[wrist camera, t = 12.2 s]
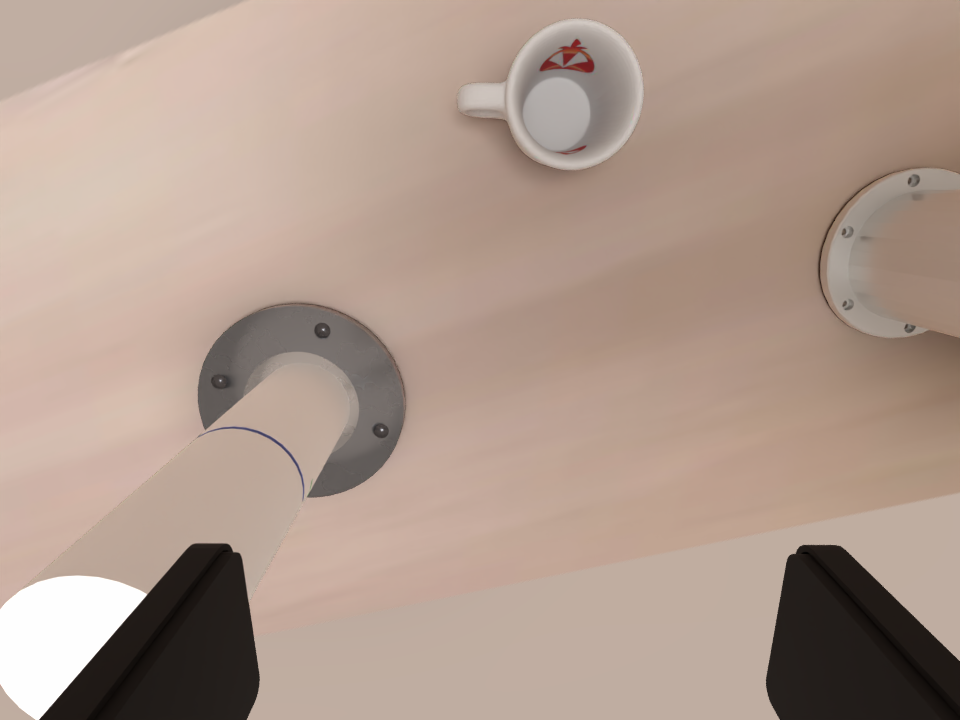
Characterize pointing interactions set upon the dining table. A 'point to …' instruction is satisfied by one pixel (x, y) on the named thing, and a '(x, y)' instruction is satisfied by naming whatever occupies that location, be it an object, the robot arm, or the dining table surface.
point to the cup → (566, 95)
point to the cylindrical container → (175, 528)
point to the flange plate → (324, 343)
